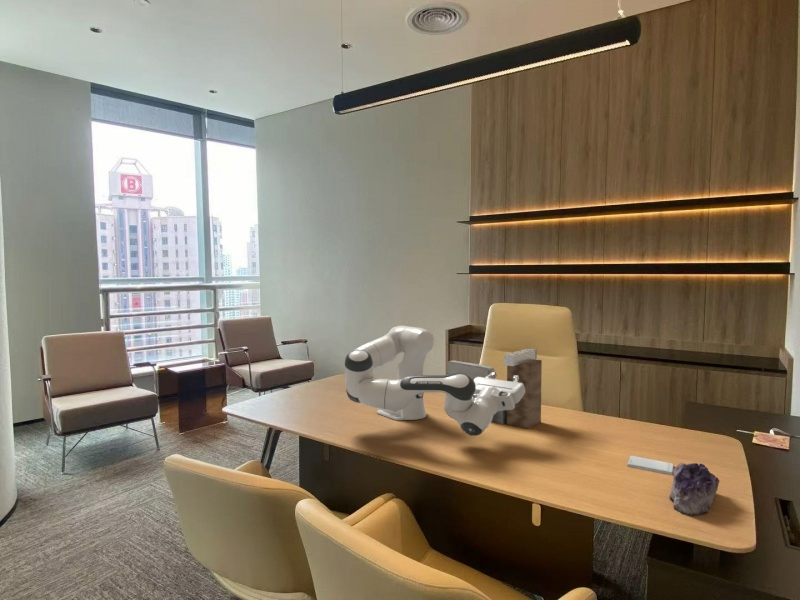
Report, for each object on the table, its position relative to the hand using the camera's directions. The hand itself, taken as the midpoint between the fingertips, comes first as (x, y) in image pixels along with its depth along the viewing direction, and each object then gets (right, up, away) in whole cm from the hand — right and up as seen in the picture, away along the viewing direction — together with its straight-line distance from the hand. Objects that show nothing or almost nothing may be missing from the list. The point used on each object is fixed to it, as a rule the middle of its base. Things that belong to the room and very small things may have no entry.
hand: (505, 375), depth 181 cm
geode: (+38, -26, -54) cm, 71 cm away
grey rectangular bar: (+9, +4, +11) cm, 14 cm away
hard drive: (+39, -25, -30) cm, 56 cm away
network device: (-8, -21, +41) cm, 47 cm away
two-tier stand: (+6, -22, +18) cm, 29 cm away
